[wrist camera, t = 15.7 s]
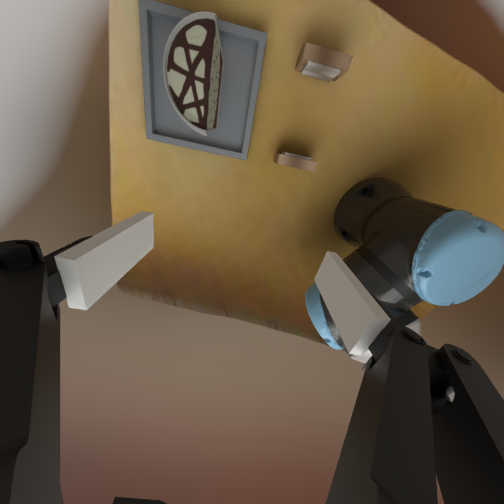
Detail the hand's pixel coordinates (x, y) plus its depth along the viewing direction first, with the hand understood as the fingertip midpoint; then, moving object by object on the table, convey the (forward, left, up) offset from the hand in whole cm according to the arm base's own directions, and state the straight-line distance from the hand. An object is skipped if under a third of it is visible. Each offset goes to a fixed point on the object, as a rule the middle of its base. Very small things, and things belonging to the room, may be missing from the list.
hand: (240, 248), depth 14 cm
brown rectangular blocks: (-8, -13, -29) cm, 33 cm away
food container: (+10, -13, -28) cm, 33 cm away
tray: (+10, -13, -29) cm, 34 cm away
